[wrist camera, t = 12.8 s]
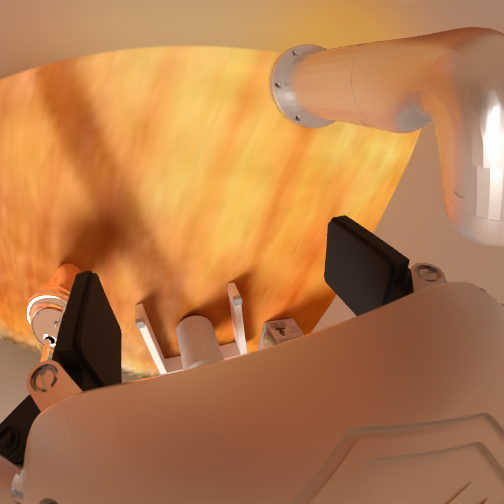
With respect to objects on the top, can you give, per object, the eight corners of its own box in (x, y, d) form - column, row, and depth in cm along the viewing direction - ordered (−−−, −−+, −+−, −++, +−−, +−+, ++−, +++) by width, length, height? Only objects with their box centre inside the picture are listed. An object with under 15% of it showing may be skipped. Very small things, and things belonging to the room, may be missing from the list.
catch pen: (233, 282, 47) (241, 298, 43) (241, 344, 54) (248, 360, 51) (135, 304, 43) (135, 323, 39) (160, 364, 50) (163, 381, 47)
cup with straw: (96, 254, 37) (71, 361, 20) (96, 304, 40) (85, 412, 24) (43, 248, 33) (-6, 347, 17) (48, 298, 37) (19, 401, 20)
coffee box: (283, 349, 59) (317, 407, 46) (255, 353, 57) (286, 415, 44) (293, 316, 55) (334, 376, 42) (263, 320, 53) (300, 386, 40)
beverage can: (208, 339, 51) (225, 391, 41) (174, 339, 48) (184, 393, 38) (214, 313, 48) (233, 365, 38) (177, 312, 46) (188, 367, 36)
